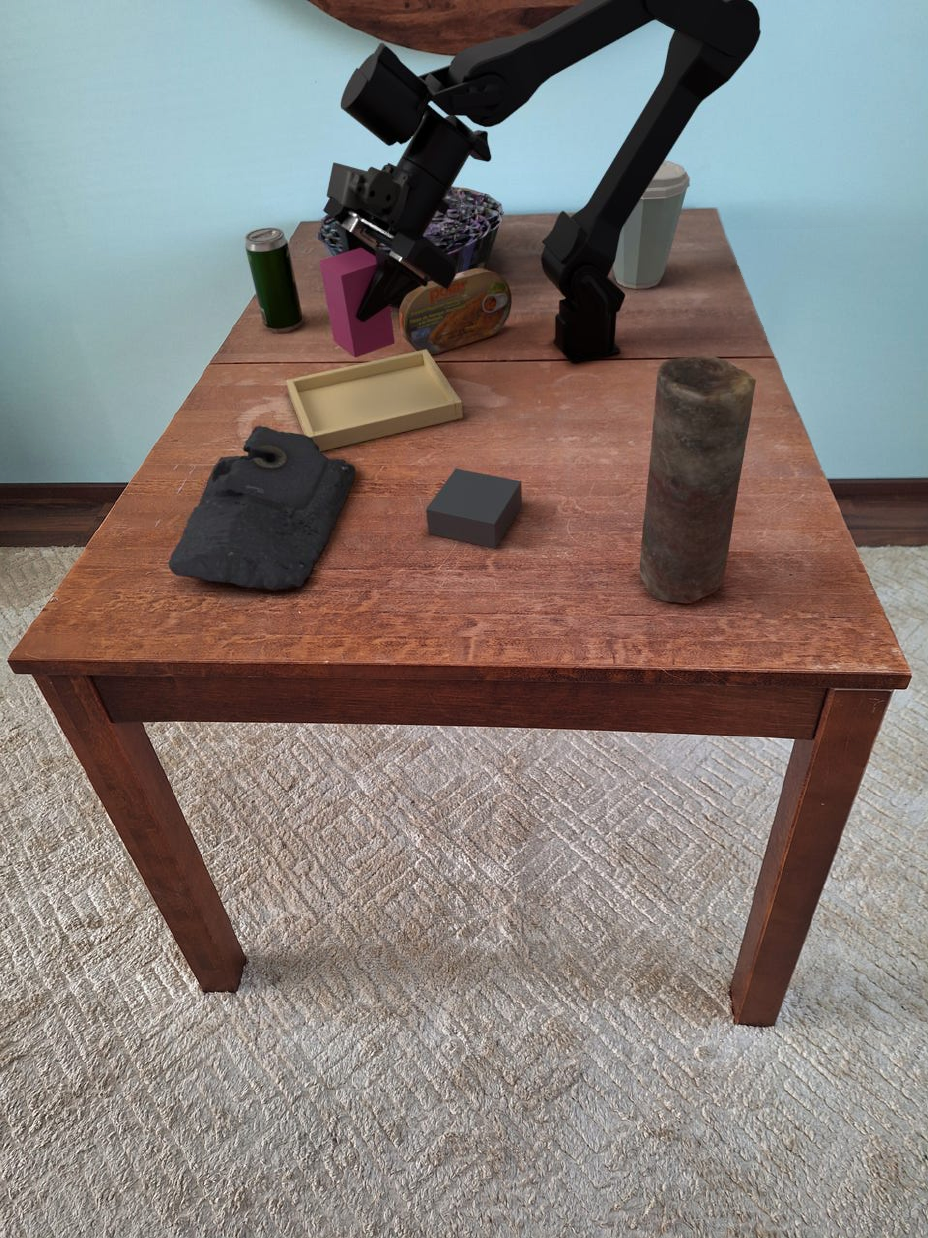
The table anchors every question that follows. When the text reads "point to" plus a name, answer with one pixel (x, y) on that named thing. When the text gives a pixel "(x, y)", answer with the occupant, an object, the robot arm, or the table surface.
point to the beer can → (274, 279)
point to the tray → (373, 400)
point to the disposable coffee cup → (651, 229)
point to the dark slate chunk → (264, 513)
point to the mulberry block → (354, 303)
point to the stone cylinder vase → (693, 475)
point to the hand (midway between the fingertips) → (347, 311)
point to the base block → (474, 508)
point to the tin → (455, 311)
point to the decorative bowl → (447, 230)
